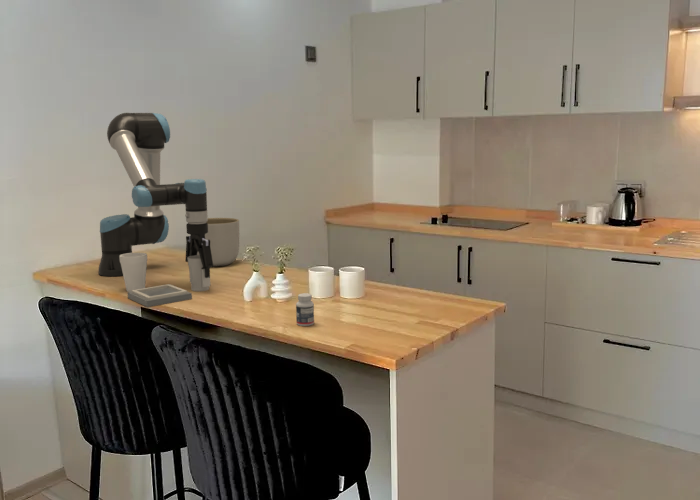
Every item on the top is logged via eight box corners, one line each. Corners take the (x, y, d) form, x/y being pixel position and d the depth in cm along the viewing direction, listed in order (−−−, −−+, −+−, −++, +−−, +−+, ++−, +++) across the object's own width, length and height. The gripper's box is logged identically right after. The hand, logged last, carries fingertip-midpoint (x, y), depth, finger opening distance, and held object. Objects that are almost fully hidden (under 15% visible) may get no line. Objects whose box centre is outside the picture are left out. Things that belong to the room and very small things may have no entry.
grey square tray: (127, 298, 225) (127, 290, 225) (171, 290, 235) (170, 283, 235) (147, 307, 213) (146, 298, 213) (191, 298, 223) (191, 290, 223)
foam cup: (151, 290, 235) (149, 255, 233) (125, 294, 231) (122, 258, 229) (145, 285, 243) (143, 251, 241) (119, 289, 239) (117, 254, 237)
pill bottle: (296, 321, 196) (295, 292, 194) (313, 321, 196) (313, 292, 194) (296, 326, 190) (295, 297, 189) (314, 326, 191) (313, 296, 189)
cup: (206, 292, 233) (204, 259, 231) (185, 291, 234) (183, 258, 232) (214, 287, 241) (213, 255, 238) (194, 286, 242) (193, 254, 240)
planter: (235, 268, 273) (234, 223, 270) (186, 269, 274) (184, 224, 270) (244, 259, 294) (242, 217, 291) (198, 259, 294) (196, 217, 291)
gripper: (173, 220, 239) (176, 280, 243) (202, 226, 223) (205, 290, 227) (192, 218, 244) (195, 277, 248) (221, 224, 227) (224, 287, 231)
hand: (200, 283), depth 237 cm, fingers open, 9 cm apart
